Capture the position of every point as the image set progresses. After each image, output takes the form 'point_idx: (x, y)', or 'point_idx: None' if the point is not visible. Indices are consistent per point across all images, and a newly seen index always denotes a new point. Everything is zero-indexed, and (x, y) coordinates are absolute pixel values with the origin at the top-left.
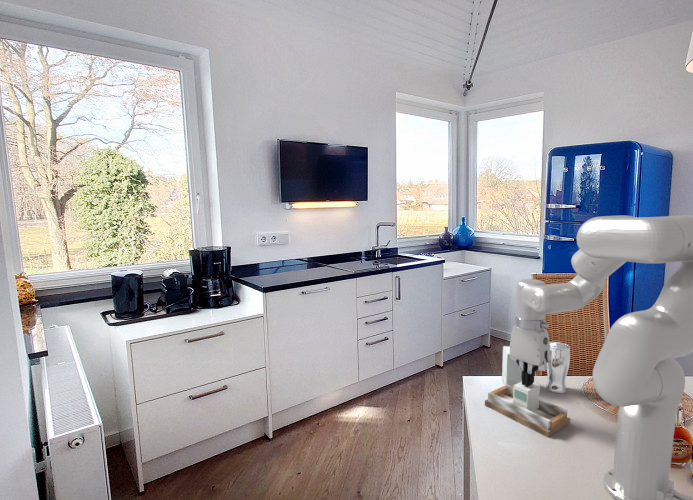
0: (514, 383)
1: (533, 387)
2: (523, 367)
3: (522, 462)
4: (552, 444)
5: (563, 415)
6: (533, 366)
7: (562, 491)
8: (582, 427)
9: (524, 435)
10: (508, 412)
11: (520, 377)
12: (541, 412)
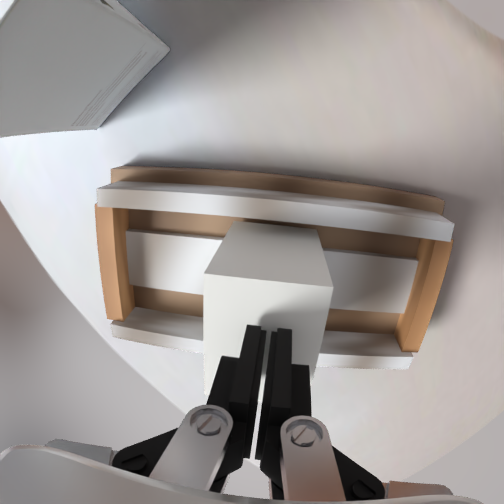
0: (102, 100)
1: (310, 350)
2: (223, 489)
3: (365, 453)
4: (413, 362)
5: (443, 265)
6: (297, 475)
7: (442, 452)
8: (472, 188)
9: (332, 382)
10: None
11: (102, 71)
12: (343, 261)
